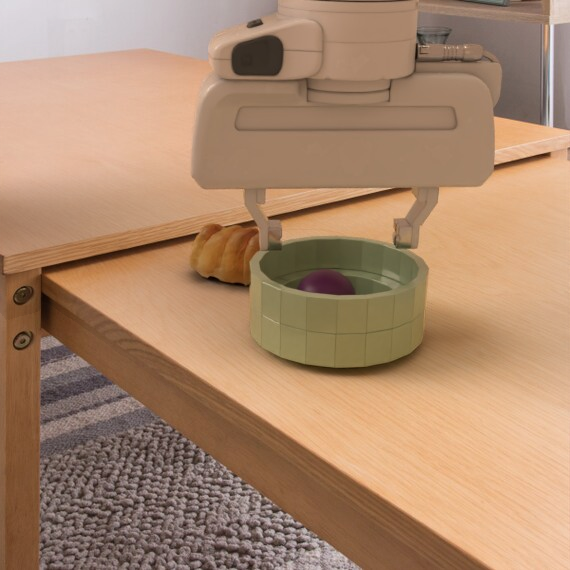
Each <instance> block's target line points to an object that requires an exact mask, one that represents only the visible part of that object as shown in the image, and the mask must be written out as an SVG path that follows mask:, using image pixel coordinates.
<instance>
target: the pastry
mask: <svg viewBox="0 0 570 570" xmlns="http://www.w3.org/2000/svg"><path fill="white" fill-rule="evenodd" d="M282 241H283V240H281V242H282ZM258 251H260V247H259V228H256V227H247V228H245V227H243V226H241V225H239V224H233V225H231V226H227V227H225V226H222V225H221V224H219V223H214V222H210V223H208V224H205V225H203V227H201V229H200V231H199V232H198V234H197V235H196V237H195V239H194V241H193V244H192V246H191V250H190V255H189V261H188V265H189V266H190V268H192V269H193V270H194V271H196V273H198V274H199V275H200V277H204V278H206V279H209V277H214V278H216V279H218V280H219V281H220V282H225V283H230V284H235V283H238V284H242V285H244V286H249V263H250V260H251V259H252V258H253V256H254V255H255V254H256V252H258Z"/></svg>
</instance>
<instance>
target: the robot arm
mask: <svg viewBox="0 0 570 570" xmlns="http://www.w3.org/2000/svg"><path fill="white" fill-rule="evenodd" d="M419 4H420V0H277V11H276V12H275V13H271V14H268V15H265V16H263V17H262V16H261V17H259V18H256V19H252V20H250V21H246V22H243V23H240V24H236V25H234V26H231V27H227V28H224V29H222V30H218V31H216V32H215V33H214V34H213V35H212V36H211V38H210V40H209V42H208V45H207V58H208V59H207V60H208V63H209V66H210V68H211V72H210V73H208V74H207V75H206V76H205V78H204V79H203V80H202V82H201V84H200V86H199V89H198V92H197V97H196V102H195V107H194V114H193V121H192V129H191V130H192V131H191V143H190V176H191V178H192V179H193V180H194V181H195V183H196V184H197V185H198V186H199V187H200V188H201V189H202V190H242V196H243V203H244V206H245V208H246V209H247V211H248V212H249V214H250V216H251V217H252V219H253V221H254V223H255V224H256V226H257V228H258V230H259V247H260V251H276V250H282V242H281V241H282V237H283V226H282V222H281V219H269V217H268V216H267V214H266V212H265V211H264V209H263V207H262V206H261V205H264V204H265V203H266V192H267V191H266V190H294V189H296V190H297V189H298V190H301V189H302V190H303V189H306V190H307V189H311V190H312V189H314V190H315V189H316V190H317V189H401V188H403V189H406V188H407V189H409V188H411V194H412V195H413V196H414V198H415V201H414V202H413V204H412V206H411V207H410V209H409V211H408V212H407V213H406V215H405V216H404V217H401V218H399V217H397V218H393V224H392V225H393V226H392V227H393V229H394V231H393V232H392V244H394V245H395V248H396V249H408V250H416V249H418V248H419V241H420V228H421V227H422V226H423V224H424V223H425V222H426V220H427V219H428V218H429V216H430V215H431V214H432V212H433V210H434V209H435V207H437V205H438V203H439V195H440V188H479V187H482V186H483V185H484V184H486V182H487V181H488V180H489V178H490V177H491V176H492V175H493V173H494V169H495V157H496V156H495V155H496V130H495V116H494V115H495V113H494V108H495V106H496V105H497V104H498V102H499V99H500V96H501V90H502V81H503V69H502V65H501V62H500V61H499V59H498V58H497V56H496V55H495V54H493V53H492V52H490V51H487V50H484V47H483V46H482V45H481V44H476V43H462V44H459V45H458V44H457V45H456V44H455V45H454V44H445V43H444V44H443V43H425V42H420V43H418V42H417V32H418V20H419V19H418V17H419ZM483 58H485V59H487V60H482V59H483Z"/></svg>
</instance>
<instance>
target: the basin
mask: <svg viewBox="0 0 570 570" xmlns="http://www.w3.org/2000/svg"><path fill="white" fill-rule="evenodd" d="M281 241H282V250H276V251H258V252H256V254H255V255H254V256H253V258H252V259H251V260H250V263H249V284H248V286H249V288H248V289H249V291H248V292H249V296H248V297H249V303H248V305H249V306H248V307H249V309H248V310H249V311H248V312H249V313H248V314H249V320H248V321H249V331H250V336H251V337H252V339H253V340H254V341H255V342H256V343H257V344H258V345H259V347H261V348H262V349H264V350H265V351H268V352H270V354H271V353H272V354H274V355H275V356H277V357H280V358H281V359H284V360H288V361H292V362H296V363H300V364H302V365H309V366H314V367H322V368H332V369H349V368H350V369H351V368H352V369H353V368H364V367H370V366H371V367H372V366H376V365H382V364H386V363H390V362H394V361H396V360H398V359H400V358H403V357H405V356H407V355H409V354H411V353H413V351H414V350H416V349H417V348H418V347H419V346H420V345H421V344H422V343H423V340H424V339H423V338H424V335H425V328H426V327H425V326H426V313H427V301H428V289H429V288H428V287H429V275H430V267H429V265H428V264H427V263H426V261H425V260H424V259H423V257H421V256H420V255H418V254H417V253H415V252H414V251H411V249H396V248H395V245H394V244H393V243H390V242H387V241H383V240H376V239H372V238H367V237H359V236H348V235H347V236H346V235H314V236H313V235H312V236H306V237H297V238H290V239H286V240H281ZM322 269H329V270H334V271H337V272H339V273H341V274H343V275H344V276H345V277H347V278H348V279H349V281H350V282H351V283H352V285H353V287H354V289H355V292H356V295H329V294H319V293H309V292H305V291H301V290H297V287H298V285H299V283H300V282H301V281H302V280H303V278H304V277H306V276H307V275H308V274H310V273H312V272H314V271H317V270H322Z"/></svg>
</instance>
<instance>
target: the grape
mask: <svg viewBox="0 0 570 570" xmlns="http://www.w3.org/2000/svg"><path fill="white" fill-rule="evenodd" d="M297 290H301V291H305V292H309V293H319V294H329V295H356V292H355V289H354V287H353V285H352V283H351V282H350V281H349V279H348V278H347V277H345V276H344V275H343V274H341V273H339V272H337V271H334V270H329V269H322V270H317V271H314V272H312V273H310V274H308V275H307V276H306V277H304V278H303V280H302V281H301V282H300V283H299V285H298V287H297Z"/></svg>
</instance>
